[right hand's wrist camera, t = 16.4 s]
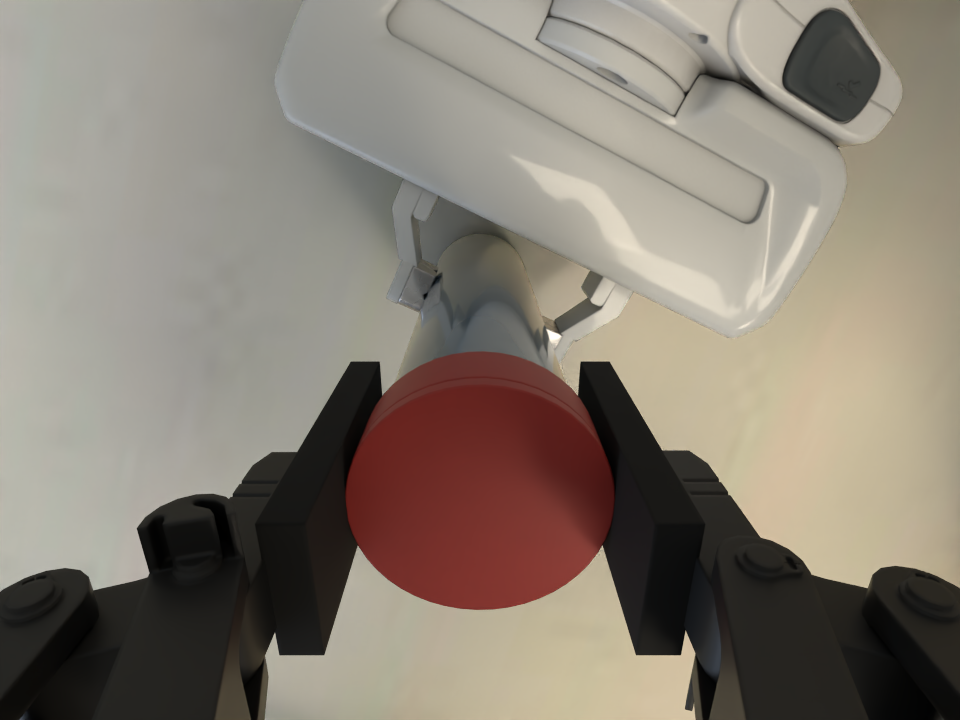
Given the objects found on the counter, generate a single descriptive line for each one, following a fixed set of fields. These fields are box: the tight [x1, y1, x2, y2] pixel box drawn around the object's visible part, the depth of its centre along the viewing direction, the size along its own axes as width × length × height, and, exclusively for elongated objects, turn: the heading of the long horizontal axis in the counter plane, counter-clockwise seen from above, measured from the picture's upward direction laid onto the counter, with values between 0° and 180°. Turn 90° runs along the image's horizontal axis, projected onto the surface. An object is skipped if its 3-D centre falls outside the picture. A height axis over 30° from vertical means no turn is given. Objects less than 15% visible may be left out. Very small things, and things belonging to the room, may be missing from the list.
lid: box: [345, 351, 615, 610], centre depth 11 cm, size 5×5×2 cm
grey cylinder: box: [395, 234, 566, 383], centre depth 20 cm, size 5×5×19 cm
